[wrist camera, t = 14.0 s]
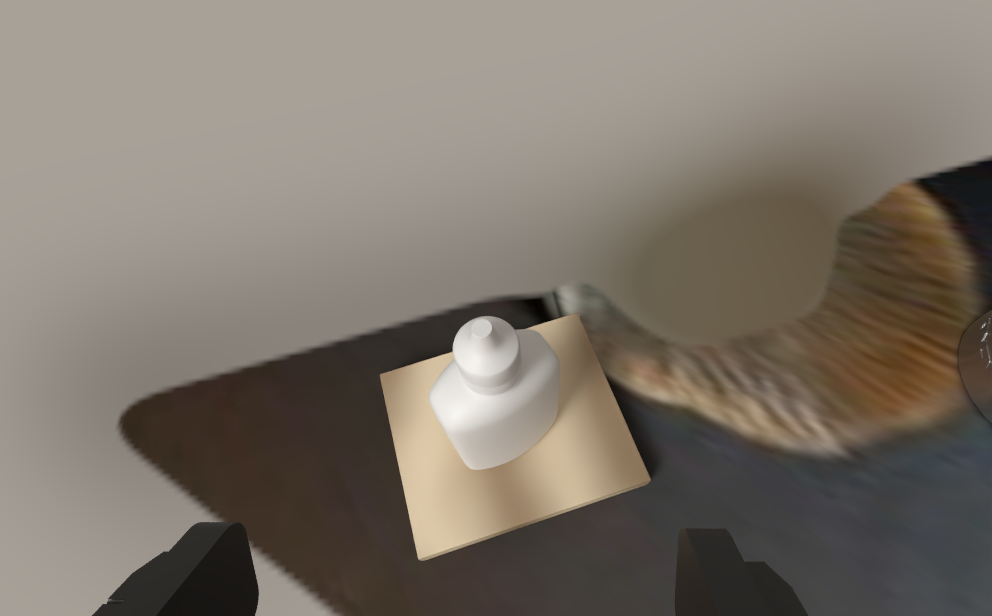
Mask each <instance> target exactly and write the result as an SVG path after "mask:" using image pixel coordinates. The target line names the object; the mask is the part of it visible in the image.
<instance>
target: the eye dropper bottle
mask: <svg viewBox="0 0 992 616" xmlns="http://www.w3.org/2000/svg"><path fill="white" fill-rule="evenodd" d="M453 344H454V345H453V354H454V355H453V356H454V360H453V361H452V362H451V363H450V364H449V365H448V366H447V367H446V368H445V369H444V371H443V372H442V373H441V374H440V376H439V377H438V379H437V380H436V381H435V383H434V385H433V386H432V388H431V390H430V393H429V402H430V406H431V408H432V410H433V412H434V413H435V415H436V417H437V419H438V421H439V422H440V424H441V426H442V427H443V429H444V431H445V432H446V434H447V436H448V437H449V439H450V441H451V442H452V444H453V446H454V447H455V449H456V450H457V452H458V454H459V455H460V457H461V458H462V460H463V461H464V463H465V464H466V465H467V466H468V467H469V468H470V469H473V470H483V469H488V468H492V467H496V466H499V465H502V464H504V463H507V462H509V461H511V460H513V459H515V458H517V457H519V456H520V455H522V454H524V453H525V452H526V451H528V450H529V449H530V448H532V447H533V446H534V445H535V444H536V443H537V442H538V441H539V440H540V439H541V438H542V437H543V436H544V435H545V433H546V432H547V431H548V430H549V428H550V427H551V425H552V424H553V422H554V420H555V419H556V417H557V412H558V399H559V380H560V364H559V361H558V358H557V355H556V354H555V352H554V351H553V349H552V348H551V347H550V345H549V344H548V343H547V341H546V340H545V339H544V338H543V337H542V335H541V334H540V333H538V332H537V331H535V330H531V329H520V330H514V328H512V326H511V325H510V324H509V323H507V322H506V321H504V320H501V318H498V317H497V318H495V317H492V316H490V317H489V316H486V317H485V316H484V317H480V318H478V317H477V318H476V319H473V320H471V321H469V322H468V323H466V324H465V325H463V327H462V328H460V330H459V332H458V333H457V335H456V336H455V339H454V342H453Z"/></svg>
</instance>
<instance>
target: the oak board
mask: <svg viewBox="0 0 992 616" xmlns="http://www.w3.org/2000/svg"><path fill="white" fill-rule="evenodd" d="M527 329H531V330H535V331H537V332H538V333H540V334H541V335H542V337H543V338H544V339H545V340H546V341H547V343H548V344H549V345H550V347H551V348H552V349H553V351H554V352H555V354H556V355H557V358H558V361H559V364H560V380H559V399H558V412H557V417H556V419H555V420H554V422H553V424H552V425H551V427H550V428H549V430H548V431H547V432H546V433H545V435H544V436H543V437H542V438H541V439H540V440H539V441H538V442H537V443H536V444H535V445H534V446H533V447H532V448H530V449H529V450H528V451H526V452H525V453H524V454H522V455H520V456H519V457H517V458H515V459H513V460H511V461H509V462H507V463H504V464H502V465H499V466H496V467H492V468H488V469H483V470H473V469H470V468H469V467H468V466H467V465H466V464H465V463H464V461H463V460H462V458H461V457H460V455H459V454H458V452H457V450H456V449H455V447H454V446H453V444H452V442H451V441H450V439H449V437H448V436H447V434H446V432H445V431H444V429H443V427H442V426H441V424H440V422H439V421H438V419H437V417H436V415H435V413H434V412H433V410H432V408H431V406H430V402H429V393H430V390H431V388H432V386H433V385H434V383H435V381H436V380H437V379H438V377H439V376H440V374H441V373H442V372H443V371H444V369H445V368H446V367H447V366H448V365H449V364H450V363H451V362H452V361H453V360H454V356H453V355H454V354H453V352H450V353H447V354H444V355H441V356H438V357H434V358H431V359H428V360H425V361H422V362H418V363H415V364H412V365H409V366H406V367H403V368H399V369H396V370H393V371H390V372H387V373H383V374H380V378H381V383H382V388H383V393H384V397H385V402H386V407H387V412H388V416H389V421H390V426H391V431H392V436H393V440H394V445H395V450H396V455H397V459H398V464H399V469H400V474H401V478H402V483H403V488H404V493H405V498H406V502H407V507H408V512H409V517H410V521H411V526H412V531H413V536H414V541H415V545H416V550H417V555H418V559H419V560H422V561H424V560H427V559H430V558H433V557H436V556H439V555H442V554H445V553H448V552H451V551H454V550H457V549H460V548H463V547H465V546H468V545H471V544H474V543H477V542H480V541H483V540H486V539H489V538H492V537H495V536H498V535H501V534H503V533H506V532H509V531H512V530H515V529H518V528H521V527H524V526H527V525H530V524H533V523H536V522H539V521H542V520H544V519H547V518H550V517H553V516H556V515H559V514H562V513H565V512H568V511H571V510H574V509H577V508H580V507H583V506H585V505H588V504H591V503H594V502H597V501H600V500H603V499H606V498H609V497H612V496H615V495H618V494H621V493H623V492H626V491H629V490H632V489H635V488H638V487H641V486H644V485H647V484H648V483H649V482H650V481H651V479H650V477H649V475H648V472H647V470H646V468H645V465H644V463H643V461H642V459H641V456H640V454H639V452H638V449H637V447H636V445H635V443H634V440H633V438H632V436H631V434H630V431H629V429H628V427H627V424H626V422H625V420H624V418H623V415H622V413H621V411H620V408H619V406H618V404H617V402H616V399H615V397H614V395H613V393H612V390H611V388H610V386H609V383H608V381H607V379H606V377H605V374H604V372H603V370H602V367H601V365H600V363H599V361H598V358H597V356H596V354H595V352H594V349H593V347H592V345H591V342H590V340H589V338H588V336H587V333H586V331H585V329H584V326H583V324H582V322H581V320H580V317H579V315H578V313H574V314H571V315H568V316H565V317H562V318H559V319H555V320H552V321H549V322H546V323H543V324H539V325H536V326H533V327H530V328H527Z"/></svg>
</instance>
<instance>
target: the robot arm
mask: <svg viewBox="0 0 992 616" xmlns="http://www.w3.org/2000/svg"><path fill="white" fill-rule="evenodd" d="M958 365H959V369H960V373H961V377H962V381H963V383H964V385H965V387H966V389H967V391H968V393H969V395H970V397H971V399H972V400H973V402H974V403H975V405H976V406H977V407H978V409H979V410H980V411H981V413H982V414H983V415H984V416H985V417H986V418H987V419H988V420H989V421H990V422H991V423H992V310H990V311H989V312H987V313H986V314H984V315H983V316H981V317H980V318H978V319H977V320H976V321H975V322H973V323H972V324H971V325H970V326H969V327H968V329H967V330H966V332H965V333H964V334H963V336H962V339H961V342H960V346H959V349H958ZM258 596H259V590H258V584H257V579H256V574H255V570H254V565H253V561H252V556H251V551H250V547H249V542H248V538H247V533H246V530H245V528H244V526H243V525H242V524H241V523H227V522H200V523H197V524H195V525H194V526H192V527H191V528H190V529H189V530H188V531H187V532H186V533H185V534H184V536H183V537H182V538H181V539H180V540H179V541H178V542H177V543H176V544H175V546H173V548H172V549H171V550H170V551H169V552H163V553H161V554H160V555H158V556H157V557H155V558H154V559H152V560H151V561H149V562H148V563H147V564H145V565H144V566H142V567H141V568H139V569H138V570H136V571H135V572H134V573H132V574H131V575H130V576H129V577H128V578H127V579H126V581H125V582H124V583H123V584H122V585H121V586H120V587H119V588H118V589H117V590H116V591H115V592H114V593H113V594H112V595H111V596H110V597H109V598H108V602H107V604H103V605H102V606H101V607H100V608H99V609H98V610H97V611H96V612H95V613H94V614H93V615H92V616H255V613H256V609H257V605H258ZM675 612H676V616H808V614H807V613H806V611H805V609H804V608H803V606H802V604H801V602H800V601H799V599H798V597H797V596H796V594H795V592H794V591H793V589H792V587H791V586H790V585H789V584H788V583H787V582H785V581H784V580H783V579H782V578H781V577H780V576H779V575H778V574H777V573H776V572H774V571H773V570H772V569H771V568H770V567H769V566H768V565H767V564H766V563H765V562H744V560H743V558H742V556H741V554H740V552H739V550H738V548H737V546H736V544H735V542H734V540H733V538H732V537H731V535H730V533H729V532H728V531H727V530H726V529H698V528H682V529H681V530H680V532H679V539H678V555H677V571H676V587H675Z"/></svg>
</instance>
